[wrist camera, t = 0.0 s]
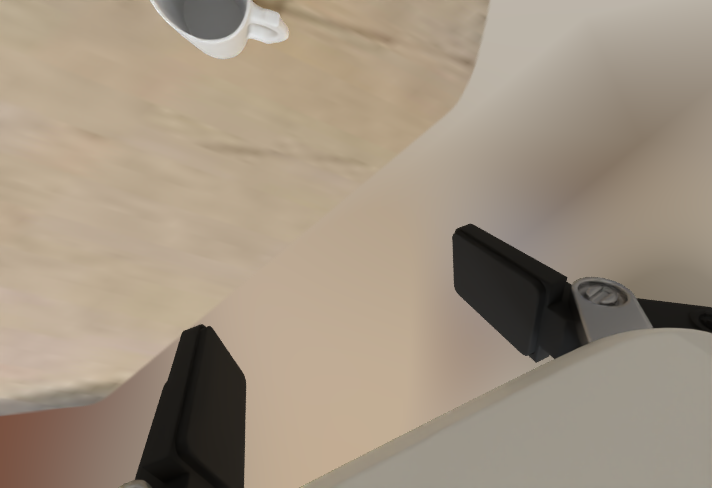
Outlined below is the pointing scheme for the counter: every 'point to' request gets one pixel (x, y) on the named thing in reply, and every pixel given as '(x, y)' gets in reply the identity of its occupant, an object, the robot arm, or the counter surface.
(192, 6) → the mug
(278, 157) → the counter surface
